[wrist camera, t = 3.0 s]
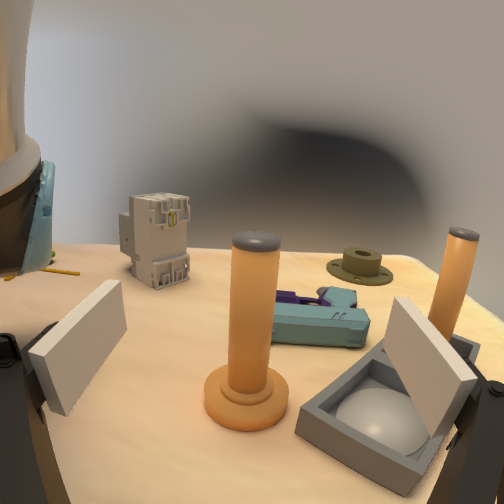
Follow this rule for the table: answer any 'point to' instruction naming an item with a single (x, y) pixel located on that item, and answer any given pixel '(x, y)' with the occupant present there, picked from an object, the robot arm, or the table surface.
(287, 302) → the pistol
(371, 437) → the tray
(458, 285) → the orange capped peg
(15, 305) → the table surface
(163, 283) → the circuit breaker
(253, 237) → the orange joystick peg
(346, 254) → the flange
